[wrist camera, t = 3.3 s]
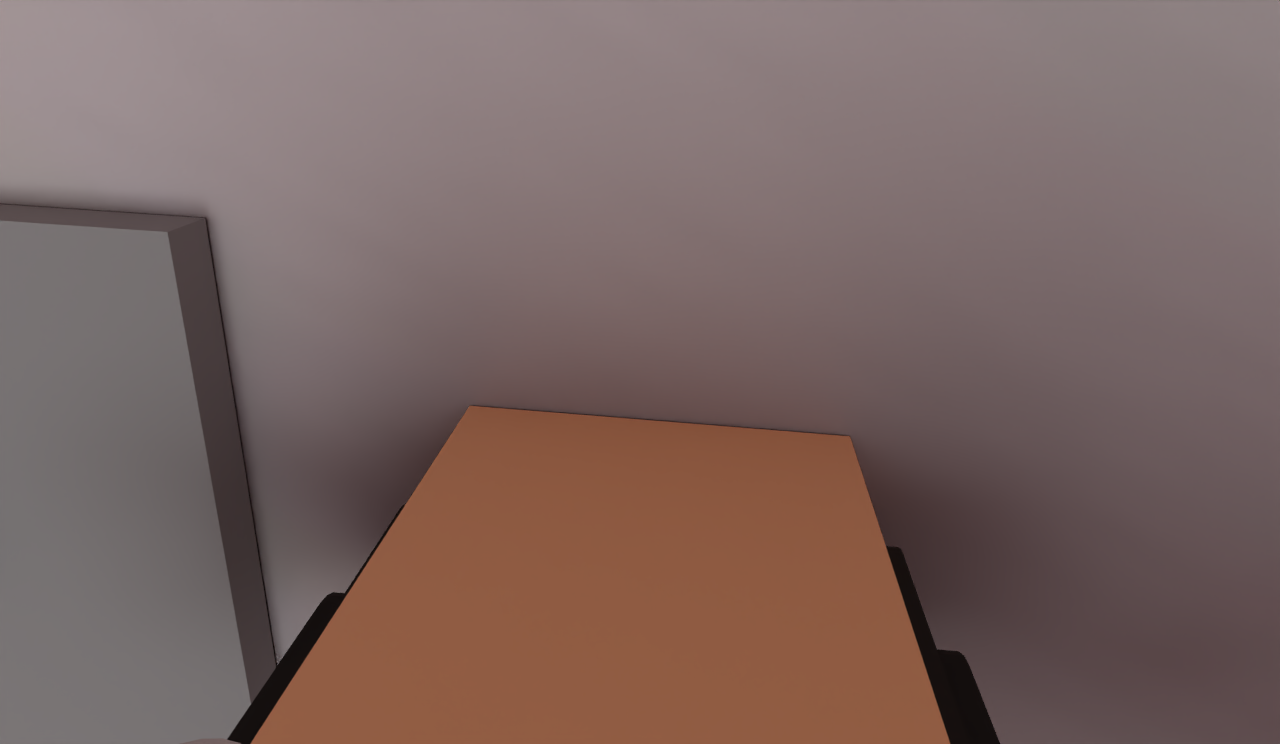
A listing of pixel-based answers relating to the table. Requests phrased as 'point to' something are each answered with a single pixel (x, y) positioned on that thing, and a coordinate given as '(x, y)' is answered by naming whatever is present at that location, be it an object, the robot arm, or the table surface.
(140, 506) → the board
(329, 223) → the table surface
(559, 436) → the orange wooden cube
